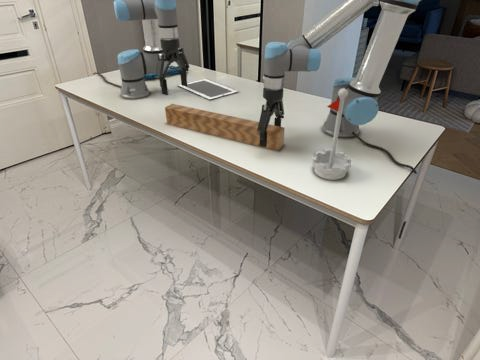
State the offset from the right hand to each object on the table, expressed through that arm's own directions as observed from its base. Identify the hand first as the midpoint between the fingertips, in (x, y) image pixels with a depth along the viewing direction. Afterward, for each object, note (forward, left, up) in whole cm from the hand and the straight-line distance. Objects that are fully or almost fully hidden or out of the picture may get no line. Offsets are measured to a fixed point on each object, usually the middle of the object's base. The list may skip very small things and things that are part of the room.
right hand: (270, 139), depth 136 cm
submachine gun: (+122, +14, -3) cm, 123 cm away
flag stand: (-27, -9, -3) cm, 28 cm away
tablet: (+78, -2, -3) cm, 78 cm away
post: (+19, +14, -3) cm, 23 cm away
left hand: (+38, +27, +13) cm, 48 cm away
